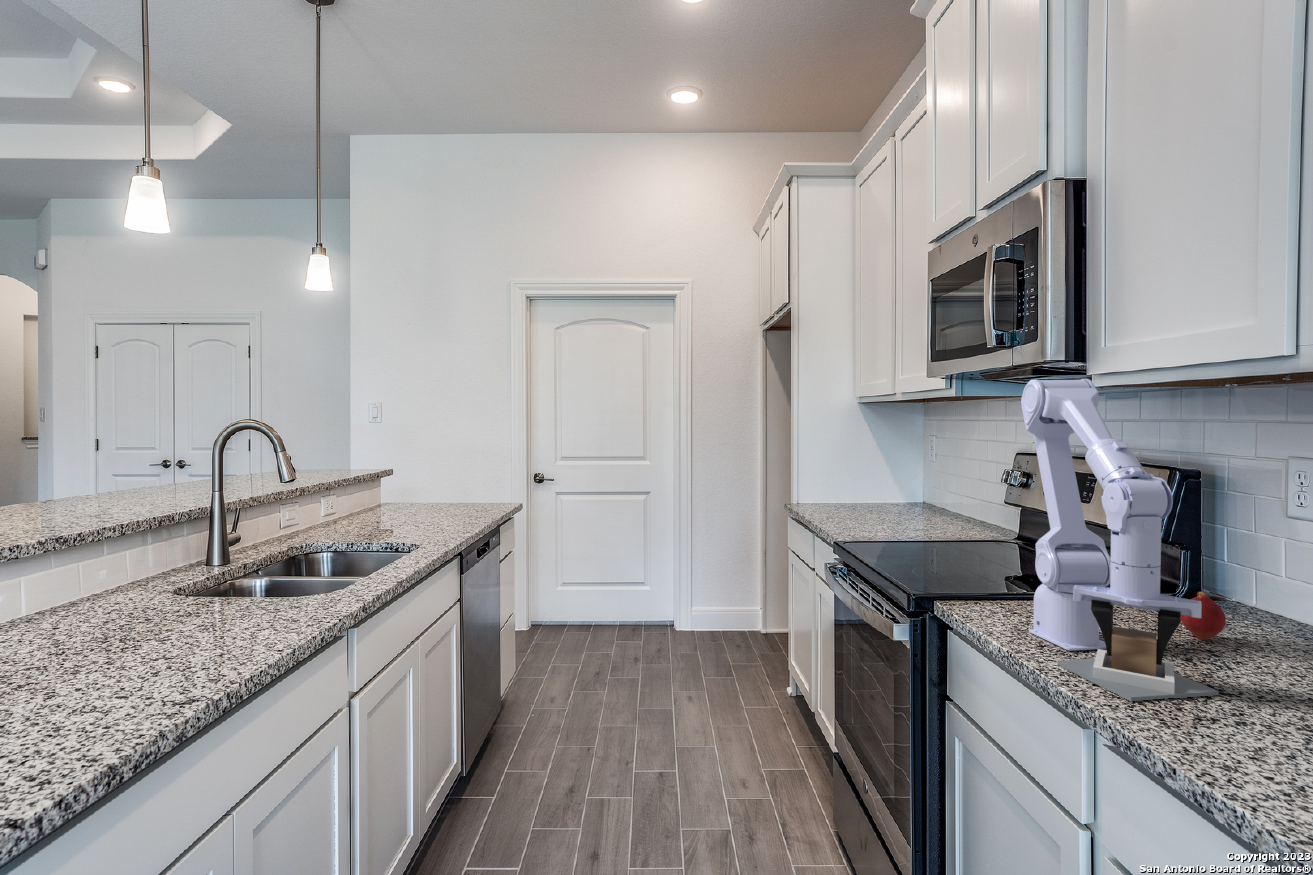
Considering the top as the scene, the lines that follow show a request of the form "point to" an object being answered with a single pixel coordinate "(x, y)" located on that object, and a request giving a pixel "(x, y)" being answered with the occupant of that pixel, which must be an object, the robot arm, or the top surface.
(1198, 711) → the top surface
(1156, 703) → the top surface
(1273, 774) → the top surface
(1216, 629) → the onion
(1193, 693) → the base plate
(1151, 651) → the block
